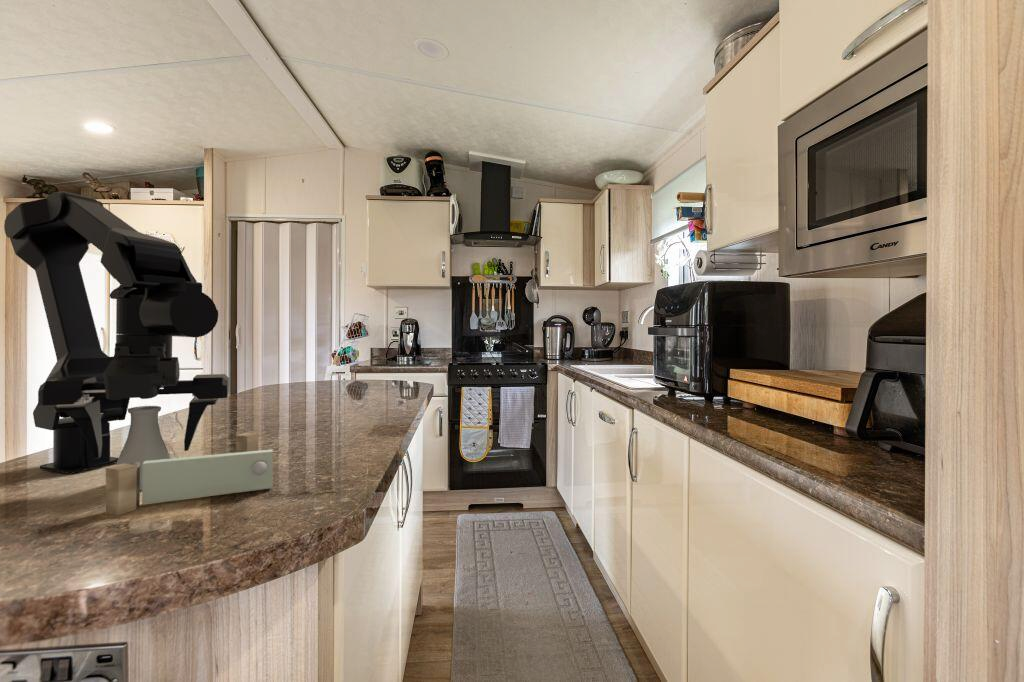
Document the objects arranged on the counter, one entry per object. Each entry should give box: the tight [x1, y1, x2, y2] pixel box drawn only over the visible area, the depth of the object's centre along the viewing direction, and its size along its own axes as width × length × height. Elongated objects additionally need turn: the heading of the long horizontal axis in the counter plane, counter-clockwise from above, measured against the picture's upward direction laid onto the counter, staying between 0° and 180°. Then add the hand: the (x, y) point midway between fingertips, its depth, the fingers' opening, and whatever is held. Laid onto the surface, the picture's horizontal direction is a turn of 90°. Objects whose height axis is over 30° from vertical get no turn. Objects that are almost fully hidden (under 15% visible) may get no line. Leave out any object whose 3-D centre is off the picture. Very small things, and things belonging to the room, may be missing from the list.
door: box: [141, 448, 274, 505], centre depth 55 cm, size 2×13×5 cm, turn 119°
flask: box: [115, 405, 172, 491], centre depth 60 cm, size 7×7×10 cm
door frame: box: [105, 431, 259, 516], centre depth 59 cm, size 2×19×5 cm, turn 164°
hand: (143, 453), depth 60 cm, fingers open, 9 cm apart
